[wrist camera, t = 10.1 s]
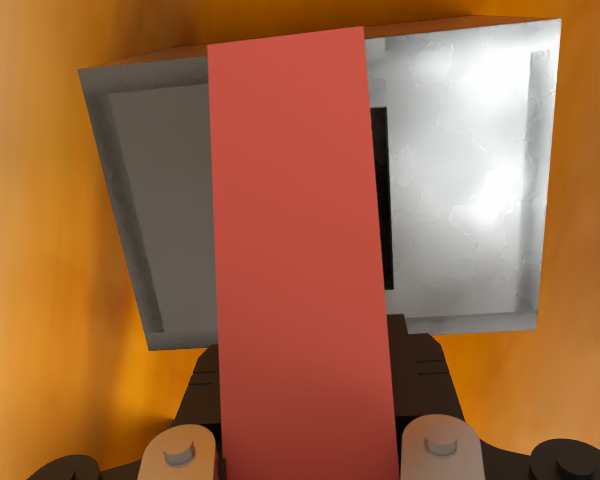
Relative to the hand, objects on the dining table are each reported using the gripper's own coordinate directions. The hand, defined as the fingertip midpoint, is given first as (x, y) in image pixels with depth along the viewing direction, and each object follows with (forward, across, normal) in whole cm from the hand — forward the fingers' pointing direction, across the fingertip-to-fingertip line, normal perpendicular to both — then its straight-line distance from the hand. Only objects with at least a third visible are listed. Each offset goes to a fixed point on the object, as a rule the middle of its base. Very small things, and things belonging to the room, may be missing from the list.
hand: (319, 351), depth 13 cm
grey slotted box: (+23, 0, 0) cm, 23 cm away
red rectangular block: (+2, 0, -6) cm, 6 cm away
